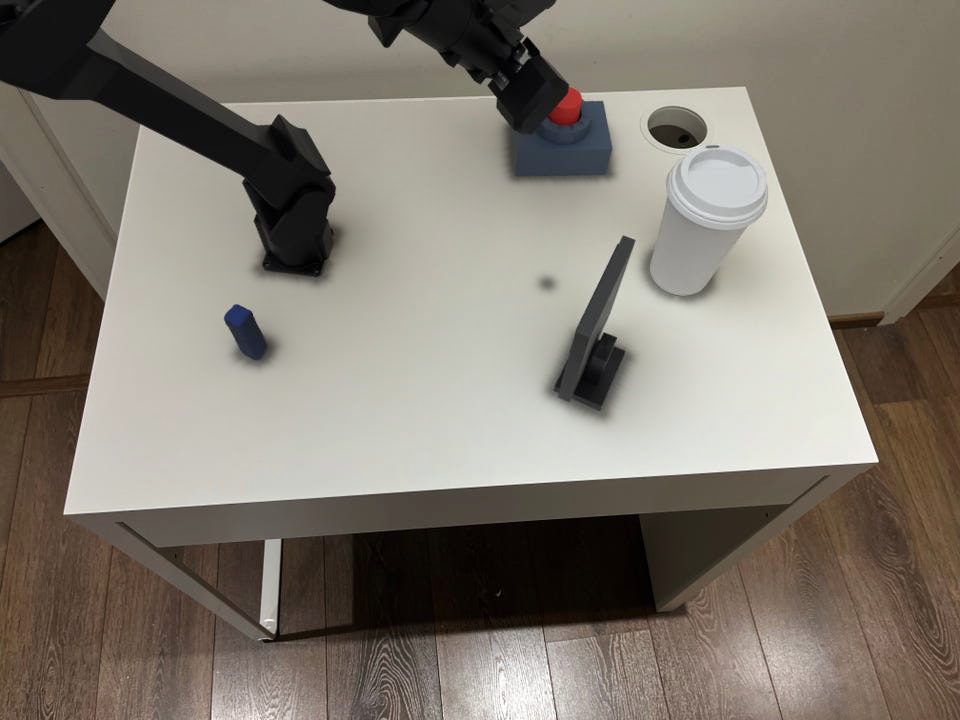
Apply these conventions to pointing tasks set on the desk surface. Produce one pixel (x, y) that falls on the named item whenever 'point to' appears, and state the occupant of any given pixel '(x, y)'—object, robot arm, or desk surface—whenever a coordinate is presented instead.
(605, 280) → the screen
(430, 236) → the desk surface
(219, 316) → the desk surface
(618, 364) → the monitor stand
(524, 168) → the switch box
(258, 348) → the eraser
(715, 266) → the coffee cup
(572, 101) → the power button
